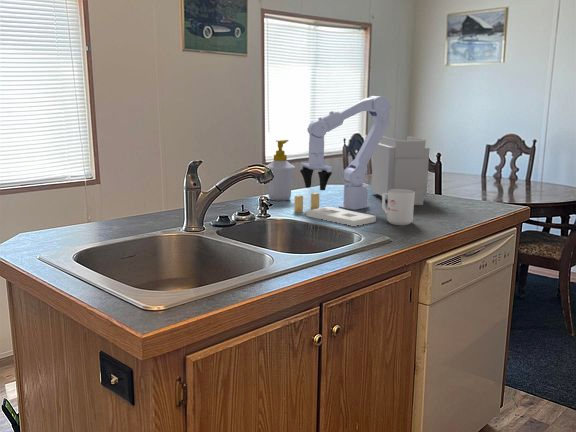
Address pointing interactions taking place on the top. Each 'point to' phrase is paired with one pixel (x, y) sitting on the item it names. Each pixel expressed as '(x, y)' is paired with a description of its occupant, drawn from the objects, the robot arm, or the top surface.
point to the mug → (399, 206)
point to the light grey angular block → (401, 167)
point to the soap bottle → (281, 175)
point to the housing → (341, 216)
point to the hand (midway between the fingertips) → (315, 188)
